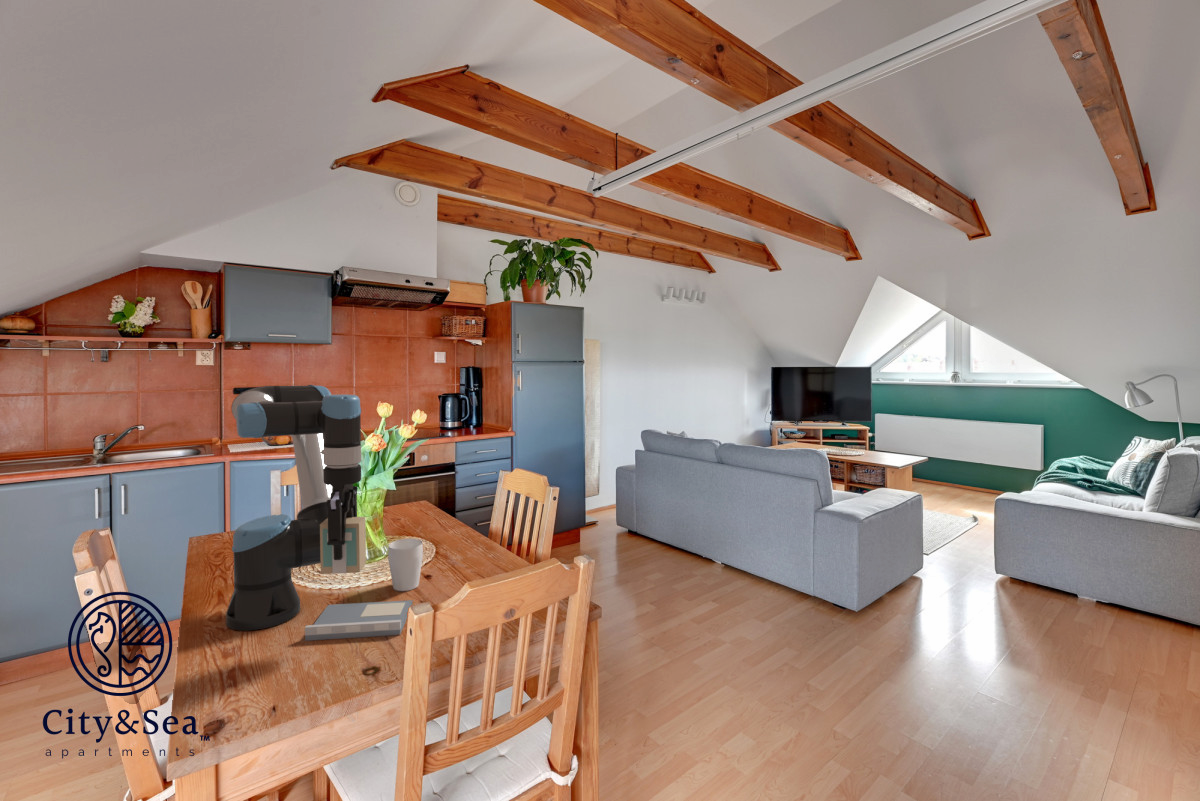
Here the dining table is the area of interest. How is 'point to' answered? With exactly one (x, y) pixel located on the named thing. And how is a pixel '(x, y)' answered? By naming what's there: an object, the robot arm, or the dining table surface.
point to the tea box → (354, 545)
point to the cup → (405, 563)
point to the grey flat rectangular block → (359, 620)
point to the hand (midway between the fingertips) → (344, 567)
